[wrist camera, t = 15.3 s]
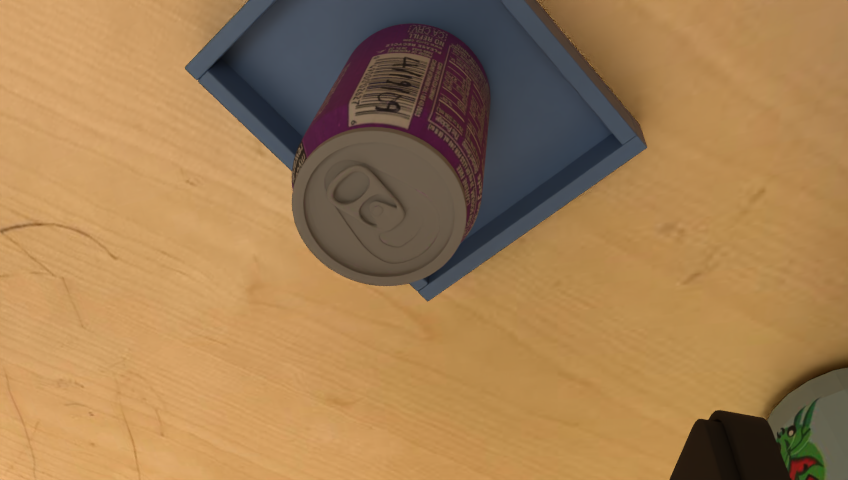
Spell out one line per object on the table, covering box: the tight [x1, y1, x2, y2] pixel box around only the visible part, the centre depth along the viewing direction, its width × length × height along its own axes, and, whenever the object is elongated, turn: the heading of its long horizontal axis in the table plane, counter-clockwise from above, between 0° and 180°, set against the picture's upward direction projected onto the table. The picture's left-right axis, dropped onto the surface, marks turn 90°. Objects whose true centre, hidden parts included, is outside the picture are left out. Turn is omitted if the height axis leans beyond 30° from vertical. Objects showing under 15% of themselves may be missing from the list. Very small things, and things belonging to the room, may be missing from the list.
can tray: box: [185, 0, 647, 301], centre depth 38 cm, size 17×14×3 cm
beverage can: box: [292, 23, 491, 286], centre depth 33 cm, size 7×7×12 cm
